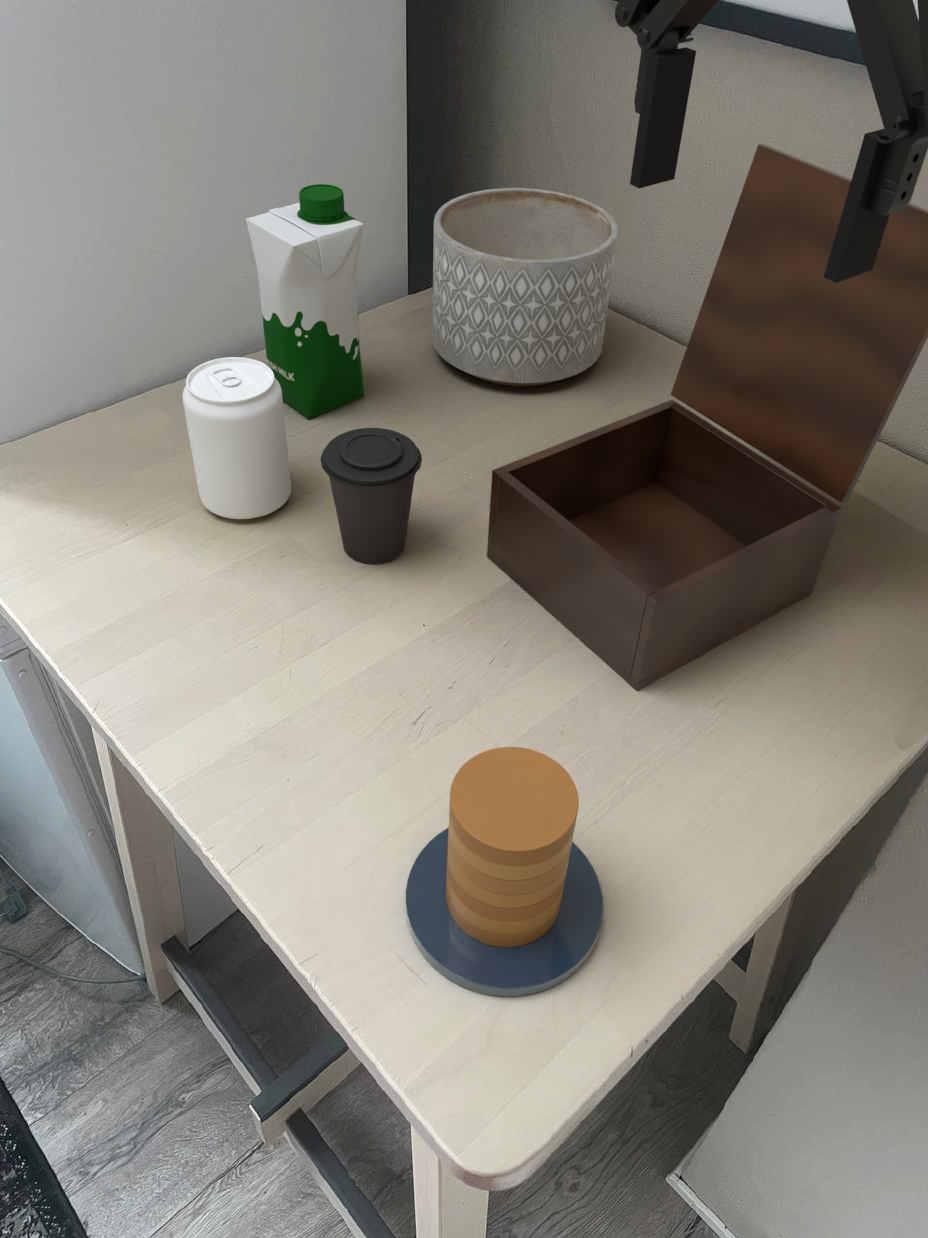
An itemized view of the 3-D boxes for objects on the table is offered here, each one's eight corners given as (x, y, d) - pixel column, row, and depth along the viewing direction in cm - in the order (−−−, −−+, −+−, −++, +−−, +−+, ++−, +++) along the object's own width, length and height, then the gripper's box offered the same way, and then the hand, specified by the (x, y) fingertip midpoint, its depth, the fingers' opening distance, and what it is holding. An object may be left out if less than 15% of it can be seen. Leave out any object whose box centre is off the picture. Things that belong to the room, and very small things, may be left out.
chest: (636, 691, 77) (656, 602, 70) (486, 556, 87) (492, 469, 81) (812, 593, 85) (842, 507, 79) (655, 482, 96) (672, 399, 90)
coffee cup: (440, 537, 89) (442, 439, 82) (383, 588, 84) (381, 488, 77) (365, 504, 92) (361, 407, 85) (307, 551, 87) (298, 452, 80)
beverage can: (222, 535, 88) (203, 414, 80) (186, 487, 93) (164, 369, 85) (307, 506, 92) (297, 387, 83) (267, 461, 96) (254, 345, 88)
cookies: (584, 908, 62) (605, 810, 55) (491, 969, 59) (502, 873, 52) (513, 828, 66) (525, 728, 59) (423, 881, 63) (424, 782, 56)
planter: (476, 298, 122) (482, 175, 113) (624, 336, 117) (643, 209, 107) (401, 367, 110) (400, 235, 100) (562, 413, 104) (578, 278, 95)
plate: (641, 926, 62) (644, 918, 62) (483, 1037, 57) (483, 1029, 56) (520, 794, 69) (521, 785, 69) (368, 882, 64) (367, 873, 63)
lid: (974, 230, 67) (1010, 231, 70) (757, 143, 78) (797, 147, 81) (841, 503, 79) (877, 493, 82) (669, 394, 90) (707, 389, 93)
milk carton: (377, 397, 106) (372, 200, 92) (305, 427, 101) (288, 225, 87) (325, 363, 110) (313, 171, 96) (254, 391, 106) (231, 194, 92)
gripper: (576, -348, 44) (535, 161, 59) (1134, -324, 30) (897, 342, 44) (700, -342, 48) (632, 139, 62) (1254, -317, 33) (997, 300, 48)
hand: (742, 224), depth 53 cm, fingers open, 13 cm apart
